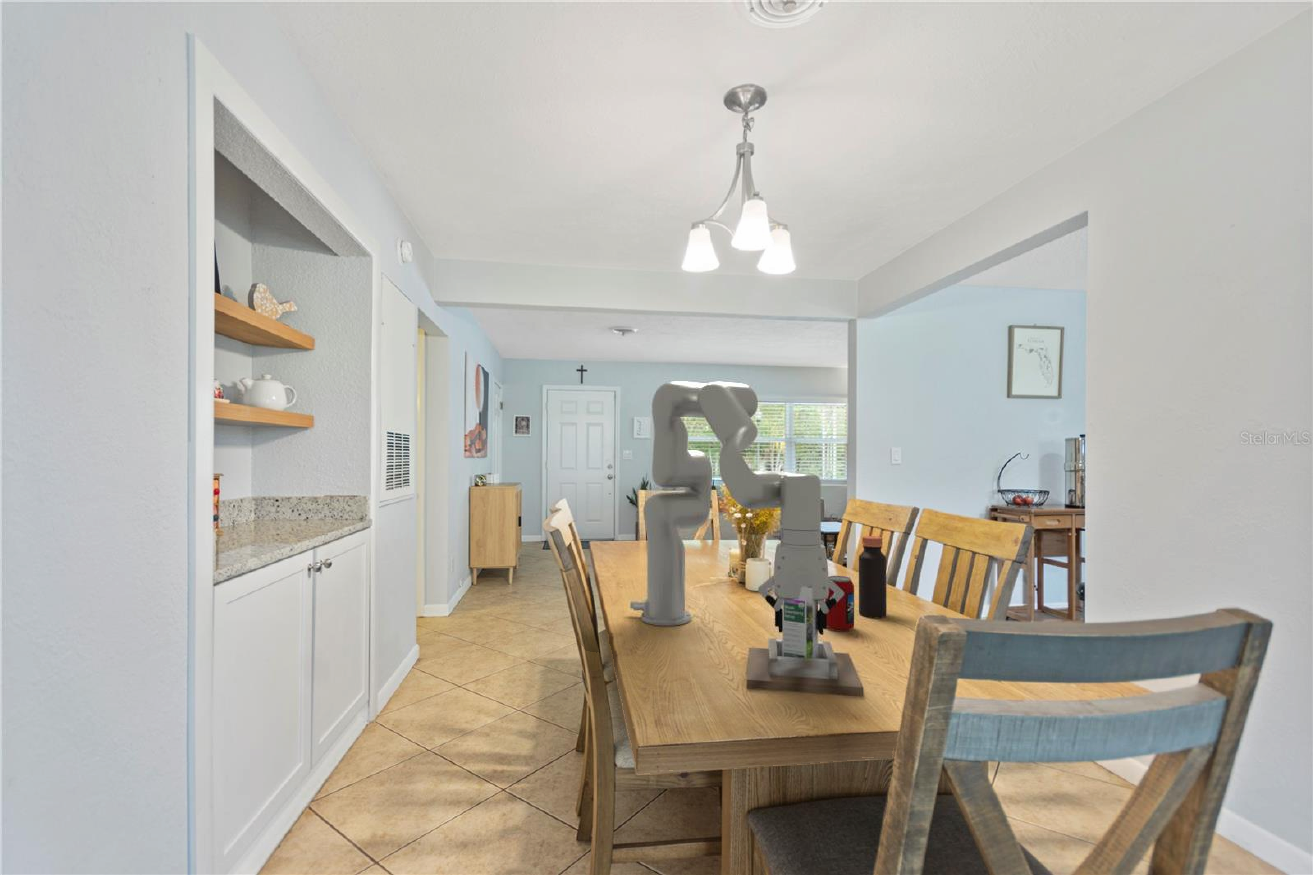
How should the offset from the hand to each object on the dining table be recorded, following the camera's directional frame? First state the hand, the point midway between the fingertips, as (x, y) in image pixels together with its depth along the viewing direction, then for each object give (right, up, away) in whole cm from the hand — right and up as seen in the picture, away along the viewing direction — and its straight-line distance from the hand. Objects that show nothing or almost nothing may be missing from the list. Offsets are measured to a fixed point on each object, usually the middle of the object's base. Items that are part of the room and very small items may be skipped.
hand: (800, 630), depth 116 cm
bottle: (+29, -9, +42) cm, 51 cm away
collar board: (0, -8, 0) cm, 8 cm away
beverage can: (+16, -9, +29) cm, 35 cm away
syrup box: (0, -5, 0) cm, 5 cm away
